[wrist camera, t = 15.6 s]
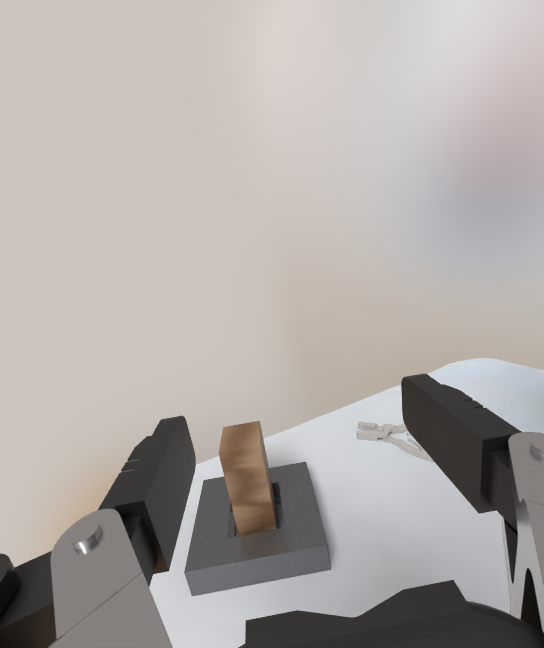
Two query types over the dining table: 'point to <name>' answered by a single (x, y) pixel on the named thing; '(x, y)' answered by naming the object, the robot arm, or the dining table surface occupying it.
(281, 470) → the socket block
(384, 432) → the pliers
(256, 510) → the walnut peg
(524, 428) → the dining table surface
